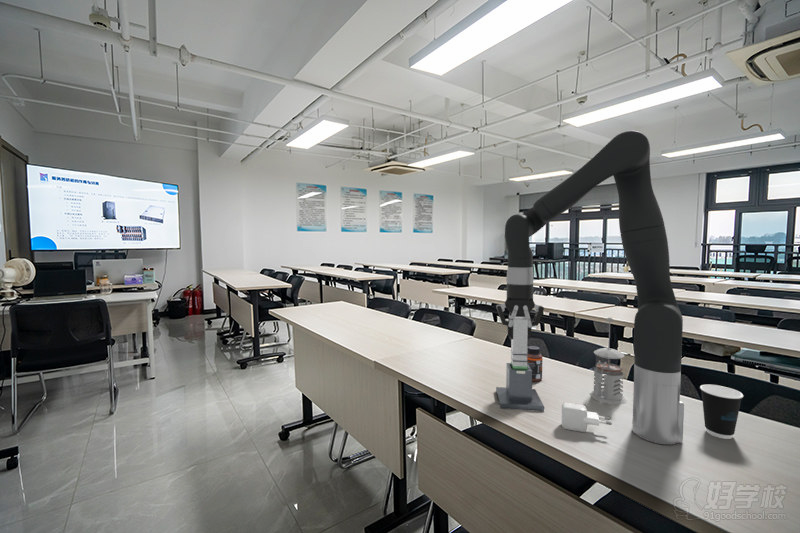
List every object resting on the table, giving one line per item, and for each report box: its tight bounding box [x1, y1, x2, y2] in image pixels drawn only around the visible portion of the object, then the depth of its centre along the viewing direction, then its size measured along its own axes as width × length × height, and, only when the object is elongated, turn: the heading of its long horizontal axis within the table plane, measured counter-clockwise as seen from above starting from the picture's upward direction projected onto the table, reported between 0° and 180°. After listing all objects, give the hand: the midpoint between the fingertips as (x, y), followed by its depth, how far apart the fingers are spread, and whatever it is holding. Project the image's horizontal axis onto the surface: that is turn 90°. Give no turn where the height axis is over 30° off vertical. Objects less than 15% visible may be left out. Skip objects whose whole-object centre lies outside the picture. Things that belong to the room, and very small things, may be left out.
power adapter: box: [561, 402, 613, 433], centre depth 90 cm, size 11×5×6 cm, turn 67°
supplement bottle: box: [527, 345, 543, 382], centre depth 124 cm, size 6×6×11 cm
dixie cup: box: [699, 384, 744, 440], centre depth 87 cm, size 8×8×11 cm
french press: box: [589, 317, 627, 405], centre depth 108 cm, size 10×12×25 cm
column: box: [510, 316, 528, 370], centre depth 106 cm, size 4×4×18 cm
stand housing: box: [495, 362, 545, 412], centre depth 107 cm, size 12×12×10 cm
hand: (519, 338), depth 106 cm, fingers closed on column, 4 cm apart
